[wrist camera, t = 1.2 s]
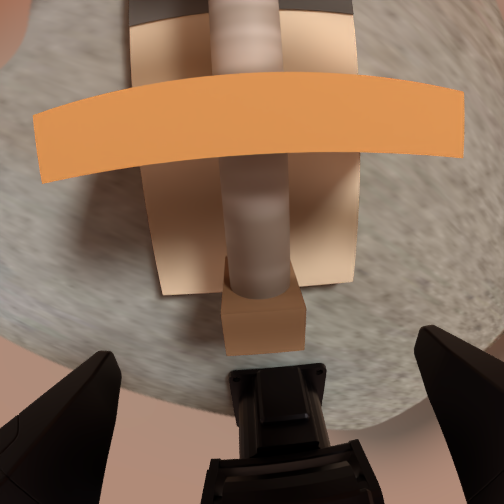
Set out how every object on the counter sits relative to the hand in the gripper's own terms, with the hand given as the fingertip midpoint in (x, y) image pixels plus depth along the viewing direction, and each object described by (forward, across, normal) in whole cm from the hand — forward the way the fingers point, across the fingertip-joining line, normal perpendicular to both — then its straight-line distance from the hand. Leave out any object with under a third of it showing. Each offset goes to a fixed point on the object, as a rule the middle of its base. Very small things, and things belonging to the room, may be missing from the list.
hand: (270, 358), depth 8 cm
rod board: (+9, 0, -8) cm, 12 cm away
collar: (+7, 0, -6) cm, 9 cm away
